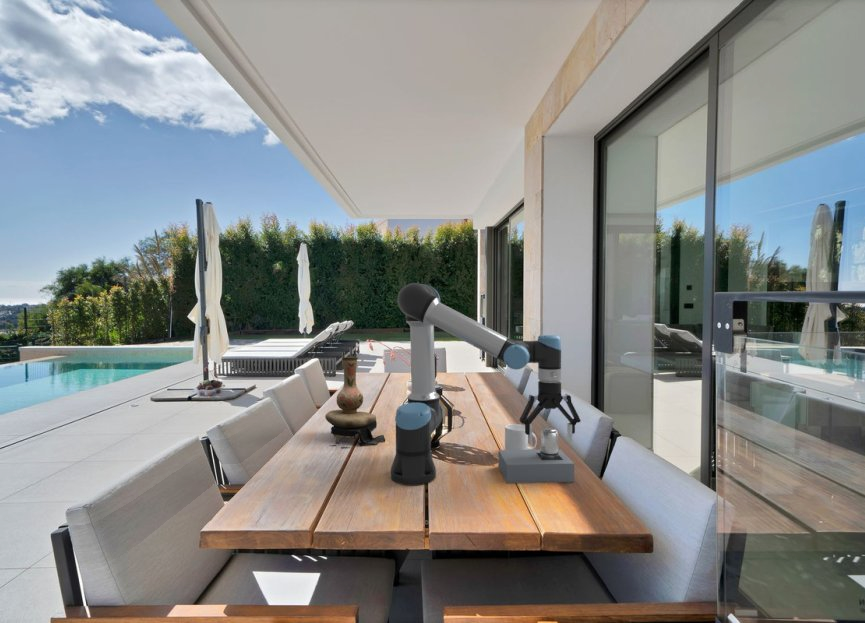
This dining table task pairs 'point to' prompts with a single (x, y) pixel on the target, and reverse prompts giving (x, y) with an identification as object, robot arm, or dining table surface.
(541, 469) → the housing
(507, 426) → the mug
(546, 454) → the silver can
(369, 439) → the vase
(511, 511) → the dining table surface
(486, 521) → the dining table surface
